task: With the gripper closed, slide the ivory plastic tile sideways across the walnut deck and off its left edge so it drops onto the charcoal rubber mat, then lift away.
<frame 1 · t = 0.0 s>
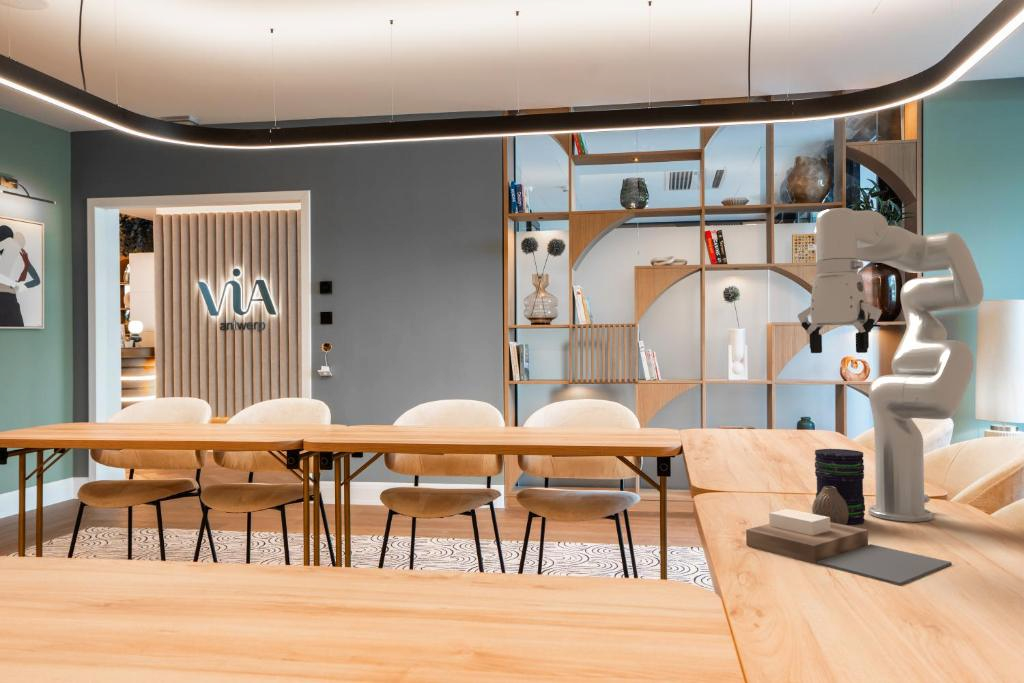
hand: (838, 352, 141), 37 cm above the table, tool pointing down, fingers open, 9 cm apart
ivory tile: (799, 528, 133), point 3 cm above the table, touching walnut deck
walnut deck: (806, 545, 131), on the table
storage jar: (840, 520, 151), on the table
vase: (830, 530, 143), on the table
charcoal mat: (883, 564, 119), on the table
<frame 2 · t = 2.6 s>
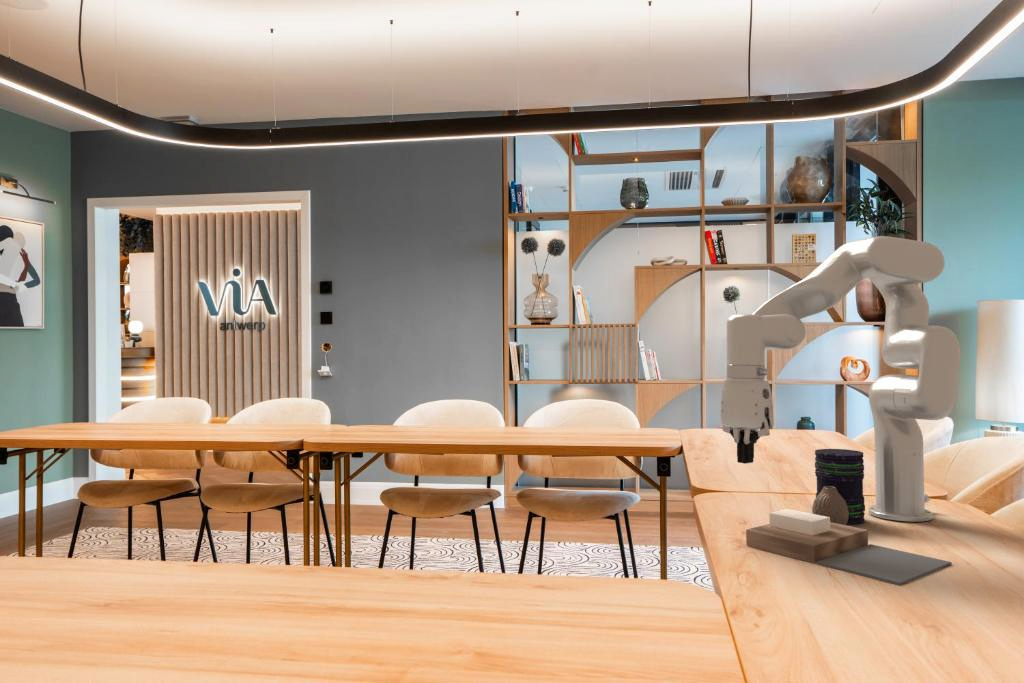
hand: (745, 462, 142), 14 cm above the table, tool pointing down, fingers closed
nothing on the table moved.
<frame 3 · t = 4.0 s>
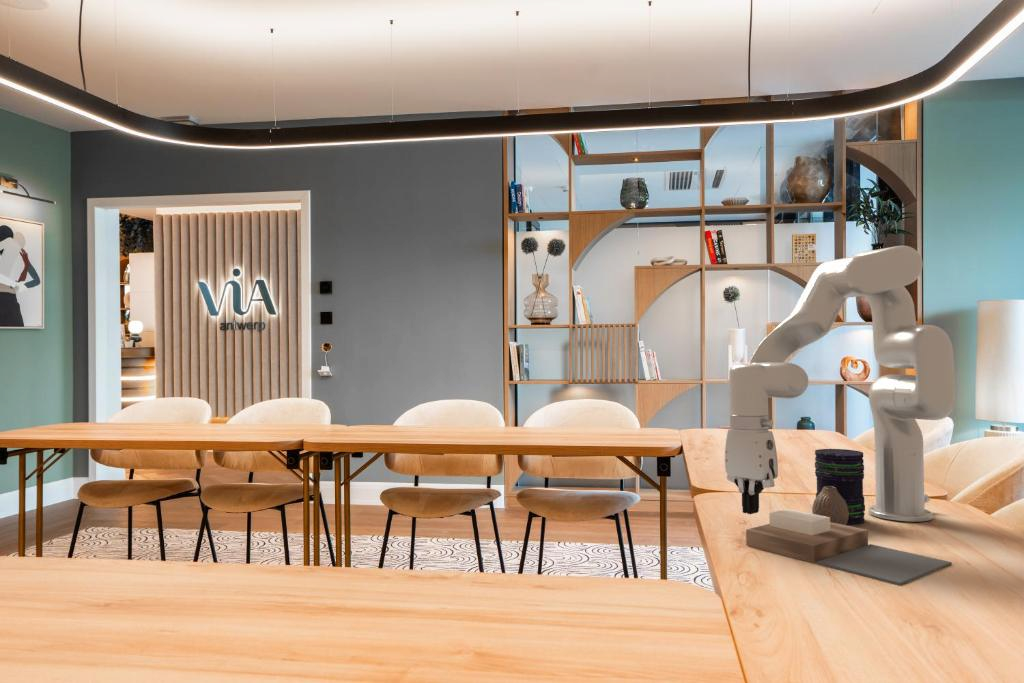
hand: (750, 512, 142), 4 cm above the table, tool pointing down, fingers closed
nothing on the table moved.
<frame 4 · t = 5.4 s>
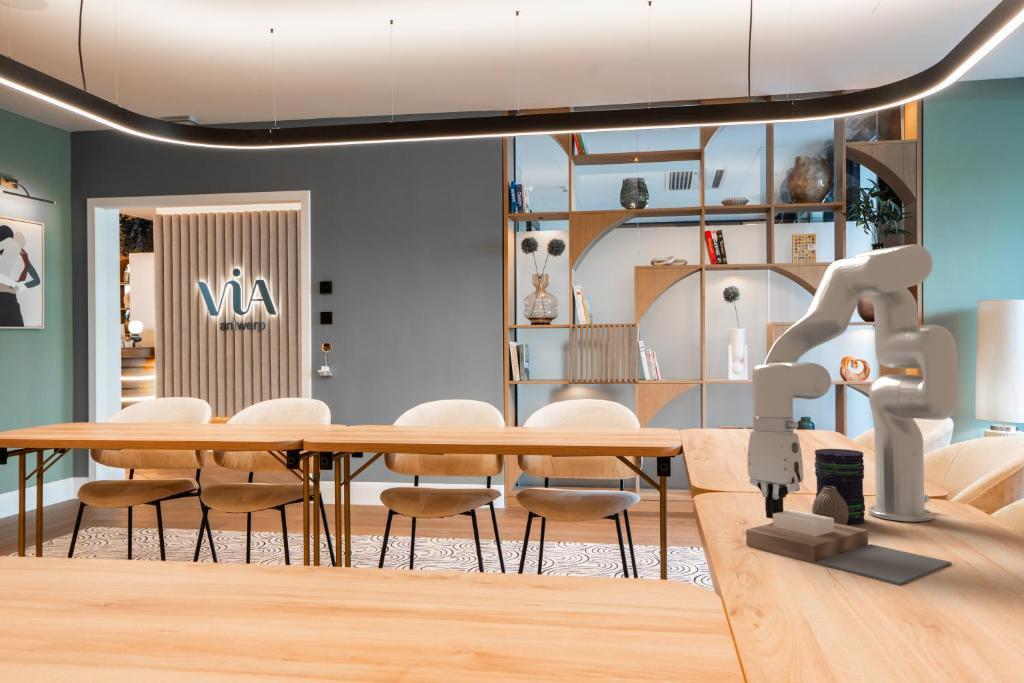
hand: (774, 517, 137), 4 cm above the table, tool pointing down, fingers closed
ivory tile: (803, 529, 132), point 3 cm above the table, touching gripper, walnut deck
everything else where it was.
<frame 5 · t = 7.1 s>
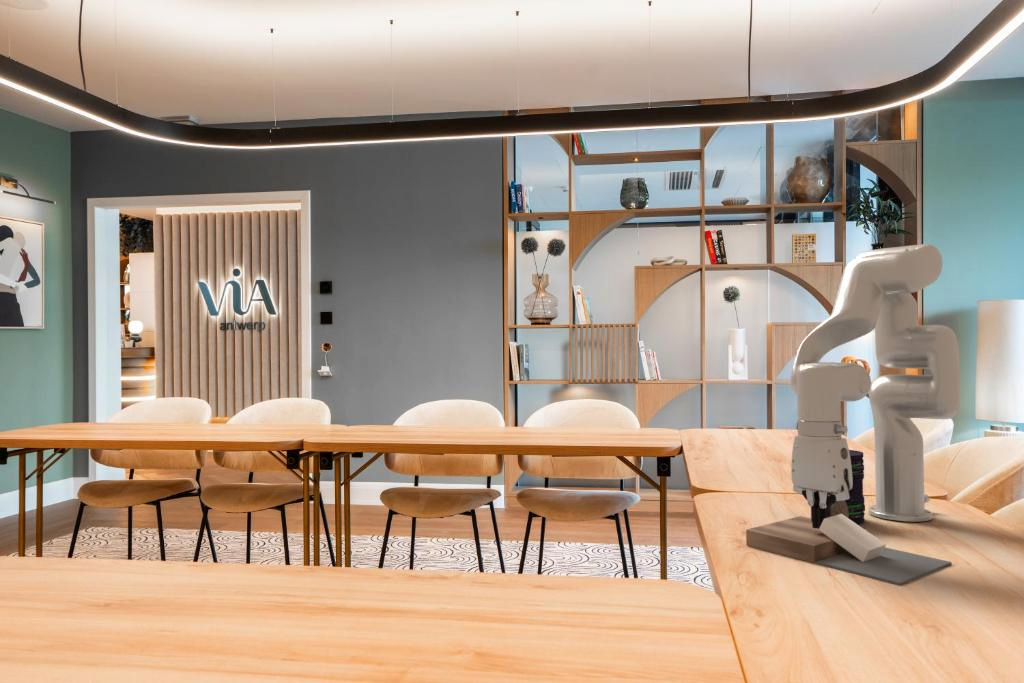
hand: (821, 527, 129), 4 cm above the table, tool pointing down, fingers closed
ivory tile: (849, 542, 124), point 2 cm above the table, tilted 26°, touching charcoal mat
everything else where it was.
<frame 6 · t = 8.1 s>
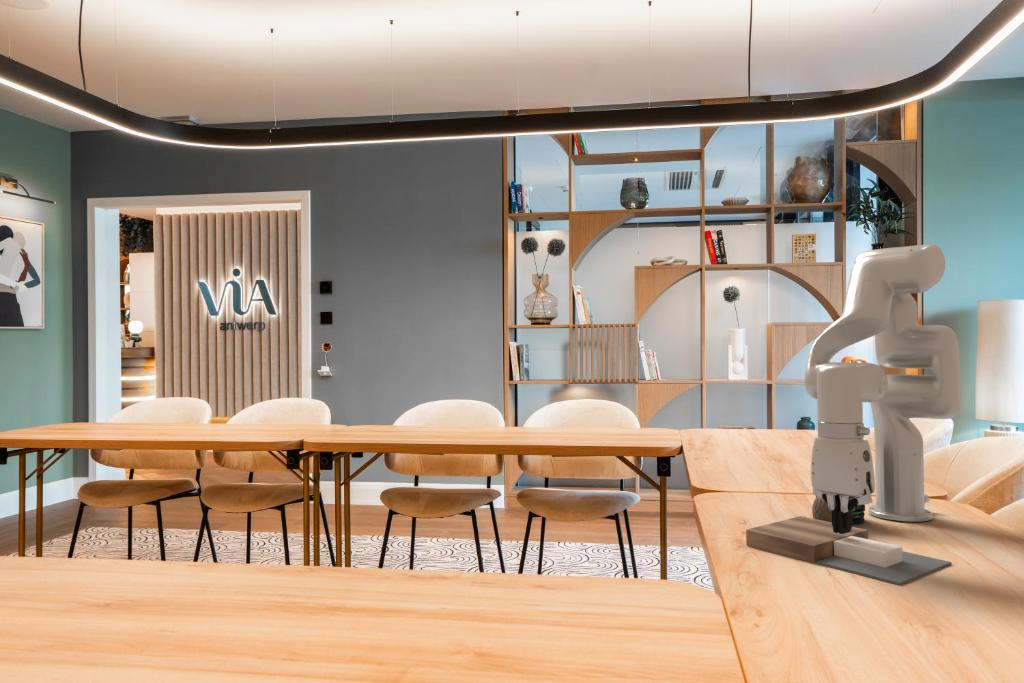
hand: (842, 532, 126), 4 cm above the table, tool pointing down, fingers closed
ivory tile: (867, 558, 122), resting on charcoal mat
everything else where it was.
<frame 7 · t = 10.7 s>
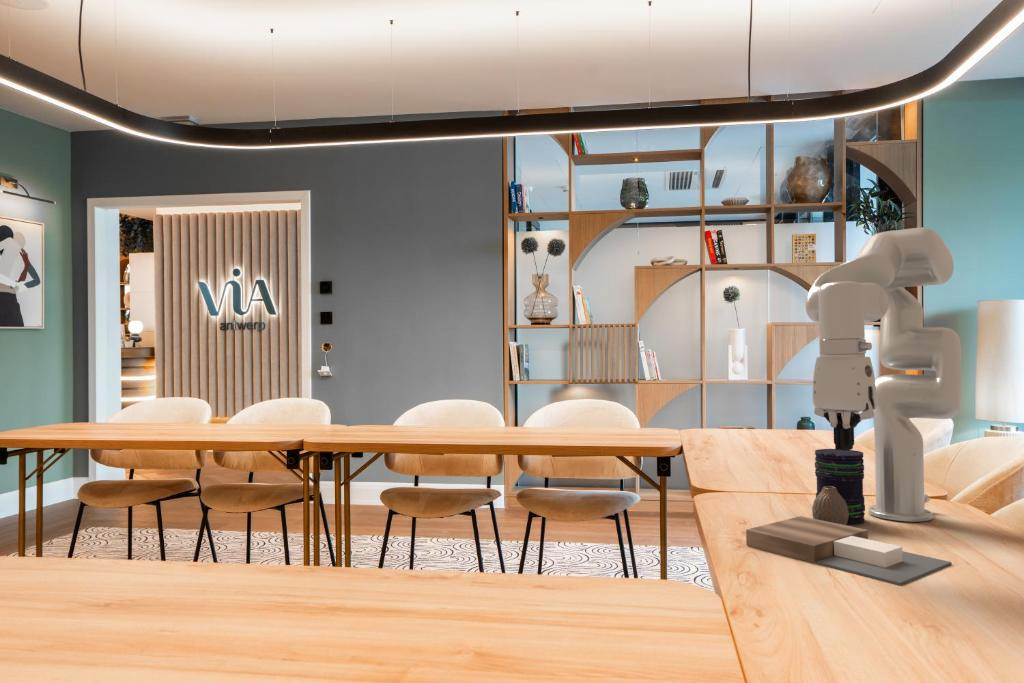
hand: (844, 449, 126), 19 cm above the table, tool pointing down, fingers closed
nothing on the table moved.
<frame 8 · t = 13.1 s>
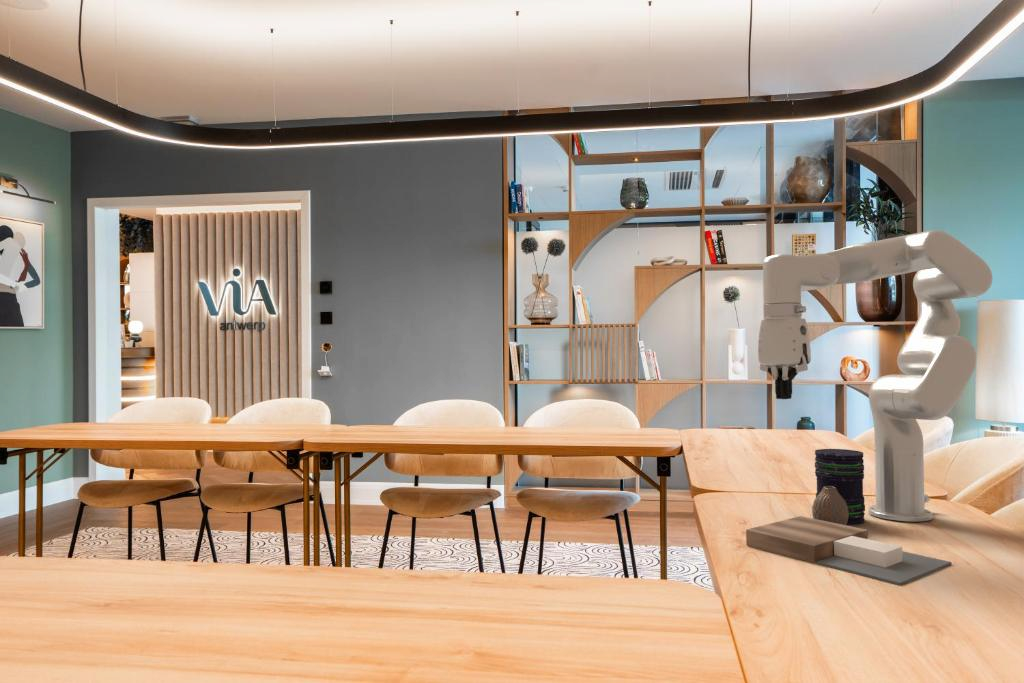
hand: (783, 398, 147), 27 cm above the table, tool pointing down, fingers closed
nothing on the table moved.
at the end: ivory tile resting on charcoal mat; ivory tile inside the target area on the charcoal mat (2.8 cm from its centre), point 0.4 cm above the charcoal mat's base; ivory tile touching charcoal mat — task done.
